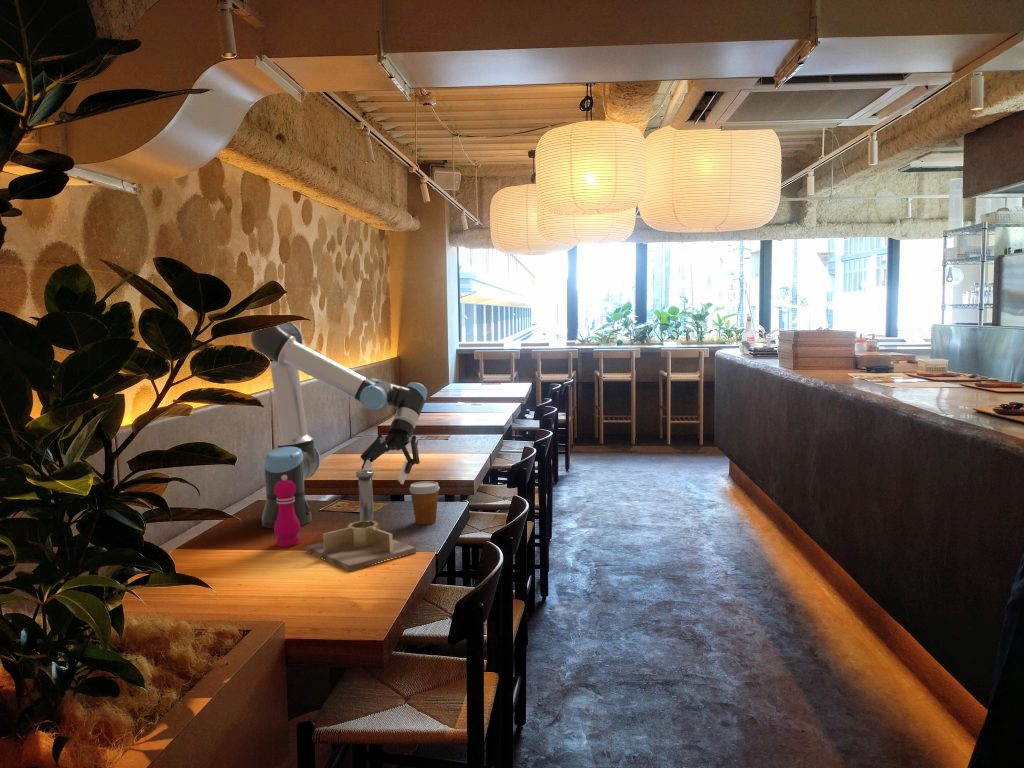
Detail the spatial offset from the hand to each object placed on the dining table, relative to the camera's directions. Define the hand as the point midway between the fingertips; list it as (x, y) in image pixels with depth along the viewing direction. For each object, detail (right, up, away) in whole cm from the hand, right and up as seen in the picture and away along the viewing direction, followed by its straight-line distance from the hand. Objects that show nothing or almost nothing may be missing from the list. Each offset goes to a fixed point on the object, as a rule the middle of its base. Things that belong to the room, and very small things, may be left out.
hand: (380, 480), depth 219 cm
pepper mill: (-24, -16, -14) cm, 32 cm away
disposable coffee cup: (+13, -14, +5) cm, 20 cm away
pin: (-3, -15, -4) cm, 16 cm away
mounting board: (-1, -16, -24) cm, 29 cm away
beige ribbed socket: (-1, -15, -26) cm, 30 cm away
